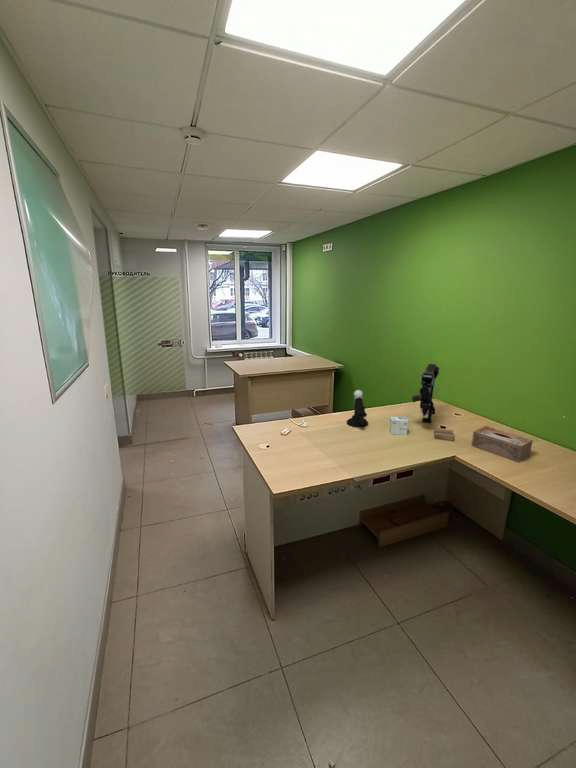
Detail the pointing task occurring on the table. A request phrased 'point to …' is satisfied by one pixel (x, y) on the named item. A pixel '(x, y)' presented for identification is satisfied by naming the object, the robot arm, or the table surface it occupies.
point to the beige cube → (422, 413)
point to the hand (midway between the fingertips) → (424, 414)
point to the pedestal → (443, 434)
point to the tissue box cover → (502, 443)
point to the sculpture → (358, 412)
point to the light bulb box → (398, 425)
